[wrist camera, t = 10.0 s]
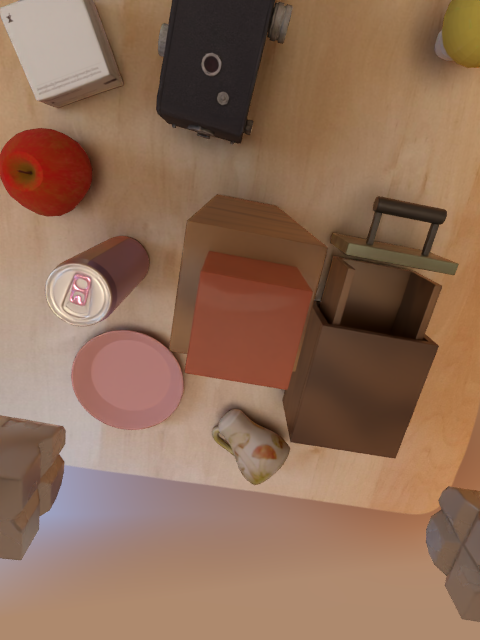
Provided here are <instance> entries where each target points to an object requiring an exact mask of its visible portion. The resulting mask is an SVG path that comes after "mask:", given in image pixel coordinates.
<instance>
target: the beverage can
mask: <svg viewBox="0 0 480 640" xmlns="http://www.w3.org/2000/svg"><path fill="white" fill-rule="evenodd" d="M148 268H149V259H148V255H147V253H146V251H145V249H144V248H143V246H142V245H141V244H140V243H139V242H137V241H136V240H134V239H132V238H129V237H125V236H117V237H113V238H111V239H109V240H107V241H105V242H102V243H100V244H98V245H96V246H94V247H92V248H90V249H88V250H86V251H84V252H82V253H80V254H78V255H76V256H74V257H72V258H70V259H68V260H66V261H64V262H62V263H61V264H59V265H58V266H57V267H56V268H55V269H54V270H53V272H52V273H51V274H50V276H49V277H48V279H47V282H46V286H45V295H46V300H47V302H48V305H49V307H50V308H51V310H52V311H53V312H54V313H55V315H56V316H58V317H59V318H60V319H61V320H63V321H65V322H67V323H69V324H72V325H75V326H90V325H93V324H96V323H98V322H100V321H102V320H104V319H106V318H107V317H108V316H109V315H110V314H111V313H112V312H113V311H114V310H115V309H116V308H117V307H118V306H119V304H120V303H121V302H122V301H123V300H124V299H125V298H126V297H127V296H128V295H129V294H130V293H131V292H132V290H133V289H134V288H135V287H136V286H137V285H138V284H139V283H140V282H141V281H142V280H143V279H144V277H145V276H146V274H147V272H148Z"/></svg>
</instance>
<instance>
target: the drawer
mask: <svg viewBox="0 0 480 640" xmlns="http://www.w3.org/2000/svg"><path fill="white" fill-rule="evenodd" d="M373 211H374V212H375V213H374V217H373V220H372V223H371V227H370V230H369V234H368V237H367V239H362V238H357V237H352V236H347V235H341V234H336V233H333V234H332V237H331V241H330V243H331V244H332V245H334V246H335V247H336V248H338V249H339V250H340V251H342V252H343V253H344V254H346V255H350V256H355V257H361V258H366V259H371V260H377V261H382V262H387V263H392V264H398V265H403V266H408V267H413V268H419V269H424V270H429V271H434V272H440V273H445V274H450V275H455V273H456V270H457V267H458V263H455V262H453V261H450V260H448V259H445V258H443V257H440V256H438V255H435V254H433V253H430V250H431V247H432V244H433V241H434V238H435V236H436V233H437V230H438V227H439V225H440V224H442V223H443V222H444V221H445V219H446V216H447V211H446V210H444V209H439V208H434V207H429V206H425V205H420V204H415V203H410V202H405V201H400V200H395V199H390V198H385V197H380V196H378V197H377V198H376V199H375V202H374V205H373ZM382 213H383V214H389V215H394V216H399V217H404V218H409V219H414V220H419V221H424V222H429V223H431V226H430V229H429V232H428V235H427V238H426V241H425V244H424V247H423V250H419V249H414V248H409V247H403V246H398V245H393V244H388V243H383V242H378V241H374V239H375V236H376V232H377V229H378V226H379V222H380V219H381V216H382ZM441 289H442V286H441V285H439V284H438V283H436V282H434V281H432V280H430V279H428V278H427V277H425V276H423V275H421V274H419V273H417V272H416V271H412V270H406V269H401V268H396V267H390V266H385V265H380V264H375V263H369V262H364V261H359V260H353V259H348V258H343V257H338V256H333V259H332V263H331V266H330V270H329V274H328V278H327V281H326V285H325V289H324V293H323V296H322V300H321V304H320V307H319V309H320V311H321V313H322V314H323V316H324V318H325V319H326V321H327V323H328V324H331V325H337V326H343V327H348V328H354V329H359V330H365V331H371V332H376V333H382V334H388V335H393V336H399V337H404V338H410V339H416V340H421V341H422V340H423V337H424V335H425V332H426V329H427V326H428V324H429V321H430V318H431V316H432V313H433V310H434V307H435V305H436V302H437V299H438V297H439V294H440V291H441Z"/></svg>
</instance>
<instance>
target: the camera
mask: <svg viewBox="0 0 480 640" xmlns="http://www.w3.org/2000/svg"><path fill="white" fill-rule="evenodd" d="M274 4H275V7H274ZM291 13H292V6H291V5H288V4H287V6H284V3H281V2H279V3H275V0H172V6H171V12H170V18H169V25H168V24H165V23H164V24H162V26H161V30H160V34H159V41H158V52H159V55H160V56H163V57H164V58H163V64H162V69H161V75H160V84H159V89H158V94H157V106H156V110H157V113H158V114H159V115H160V116H161V117H162V118H163V119H164V120H165V121H166V122H167V123H169V124H172V127H173V128H176V126H179V127H182V128H186V129H189V130H193V131H195V132H197V136H201V137H204V138H207V139H209V138H210V136H214V137H218V138H221V139H225V140H228V141H231V145H233V144H234V143H241V141H242V136H243V133H245V134H248V135H250V133H251V129H252V125H253V121H252V120H247V115H248V111H249V107H250V103H251V99H252V95H253V91H254V86H255V82H256V78H257V74H258V69H259V65H260V61H261V57H262V53H263V49H264V45H265V41H266V37H269V38H270V40H271V41H275V40H278V43H282V44H283V42H284V39H285V36H286V32H287V28H288V25H289V21H290V17H291ZM267 32H268V36H267Z"/></svg>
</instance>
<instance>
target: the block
mask: <svg viewBox="0 0 480 640" xmlns="http://www.w3.org/2000/svg"><path fill="white" fill-rule="evenodd" d="M312 294H313V291H312V290H311V288H310V287H309V285H308V283H307V282H306V280H305V279H304V277H303V276H302V274H301V272H300V271H299V269H298V268H297V267H294V266H288V265H283V264H277V263H272V262H267V261H261V260H256V259H251V258H245V257H240V256H235V255H229V254H224V253H218V252H213V251H209V252H208V254H207V256H206V259H205V261H204V264H203V267H202V269H201V272H200V277H199V284H198V290H197V296H196V303H195V309H194V315H193V322H192V328H191V334H190V341H189V347H188V353H187V360H186V366H185V373H188V374H194V375H200V376H206V377H212V378H218V379H225V380H231V381H237V382H243V383H249V384H255V385H261V386H267V387H273V388H279V389H285V390H287V389H288V387H289V383H290V379H291V375H292V371H293V367H294V363H295V359H296V356H297V352H298V348H299V344H300V340H301V336H302V332H303V328H304V325H305V321H306V317H307V313H308V309H309V305H310V301H311V297H312Z"/></svg>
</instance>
